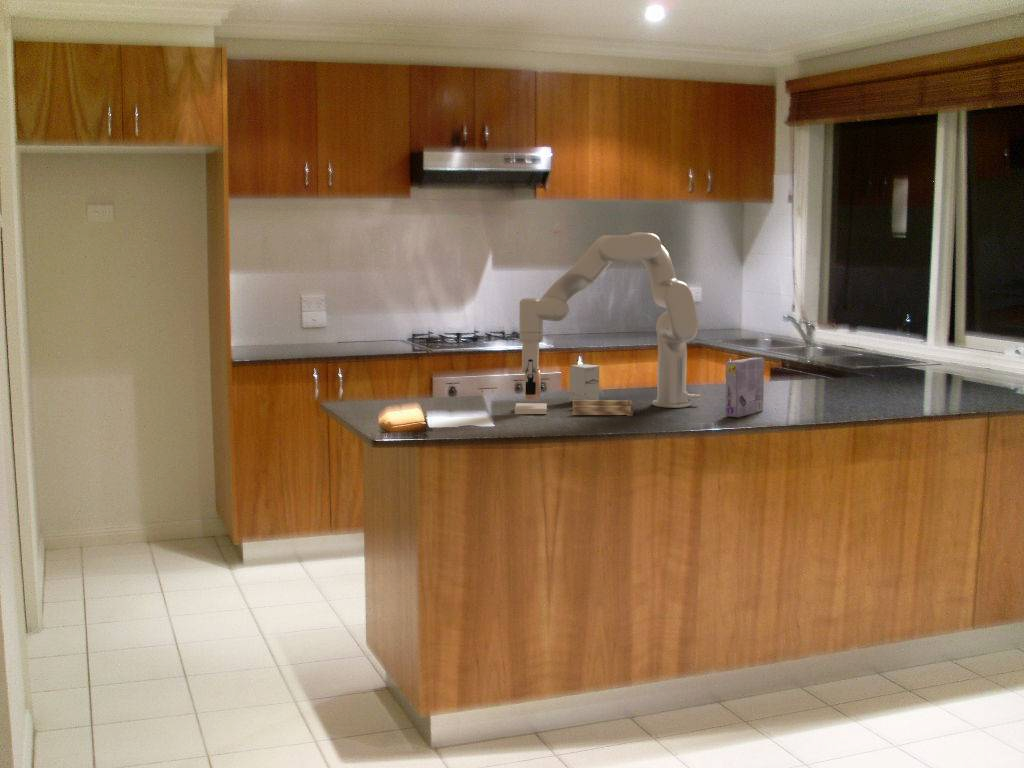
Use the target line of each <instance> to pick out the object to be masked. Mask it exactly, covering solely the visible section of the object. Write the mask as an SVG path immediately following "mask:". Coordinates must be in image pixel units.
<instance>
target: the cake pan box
mask: <svg viewBox="0 0 1024 768" xmlns="http://www.w3.org/2000/svg"><path fill="white" fill-rule="evenodd" d="M764 377H765V357H749V358H743V359H736V360H731V361H725V417H730V418H736V419H738V418H741V417H745V416H750V415H754V414H756V413H760V412H763V411H764V396H765V395H764V392H765V391H764V390H765V389H764V388H765V387H764V386H765V385H764V384H765V383H764V381H765V378H764Z"/></svg>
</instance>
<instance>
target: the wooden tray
mask: <svg viewBox="0 0 1024 768" xmlns="http://www.w3.org/2000/svg"><path fill="white" fill-rule="evenodd" d="M573 415H627V416H626V417H634V405H633V402H632V400H614V399H613V400H611V399H609V400H606V399H605V400H601V399H599V400H573V402H572V416H573Z"/></svg>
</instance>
